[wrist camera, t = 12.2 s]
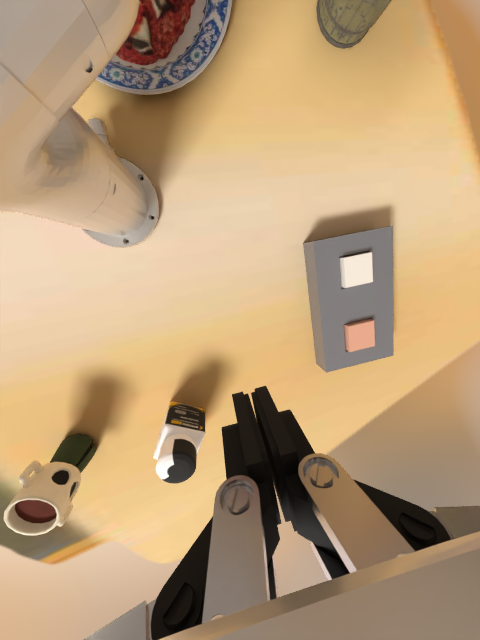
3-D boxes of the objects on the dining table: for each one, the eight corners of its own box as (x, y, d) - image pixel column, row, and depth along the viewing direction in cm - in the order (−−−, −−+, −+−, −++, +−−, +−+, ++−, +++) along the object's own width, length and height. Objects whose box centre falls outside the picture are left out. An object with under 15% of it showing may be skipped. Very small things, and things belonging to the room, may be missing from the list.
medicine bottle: (205, 408, 47) (205, 456, 35) (194, 437, 48) (191, 493, 37) (170, 400, 45) (158, 447, 34) (160, 430, 47) (145, 486, 35)
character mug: (111, 459, 47) (77, 531, 34) (77, 473, 46) (30, 551, 34) (83, 416, 44) (34, 479, 31) (46, 431, 43) (-19, 500, 31)
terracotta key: (339, 322, 44) (348, 326, 41) (363, 316, 45) (374, 320, 42) (340, 346, 46) (349, 352, 43) (364, 340, 46) (374, 345, 43)
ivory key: (334, 258, 41) (343, 258, 38) (360, 252, 41) (372, 252, 38) (336, 286, 42) (345, 288, 39) (361, 280, 43) (372, 282, 40)
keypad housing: (303, 243, 41) (313, 241, 38) (375, 228, 43) (392, 225, 39) (316, 363, 48) (326, 372, 44) (378, 347, 49) (393, 355, 45)
